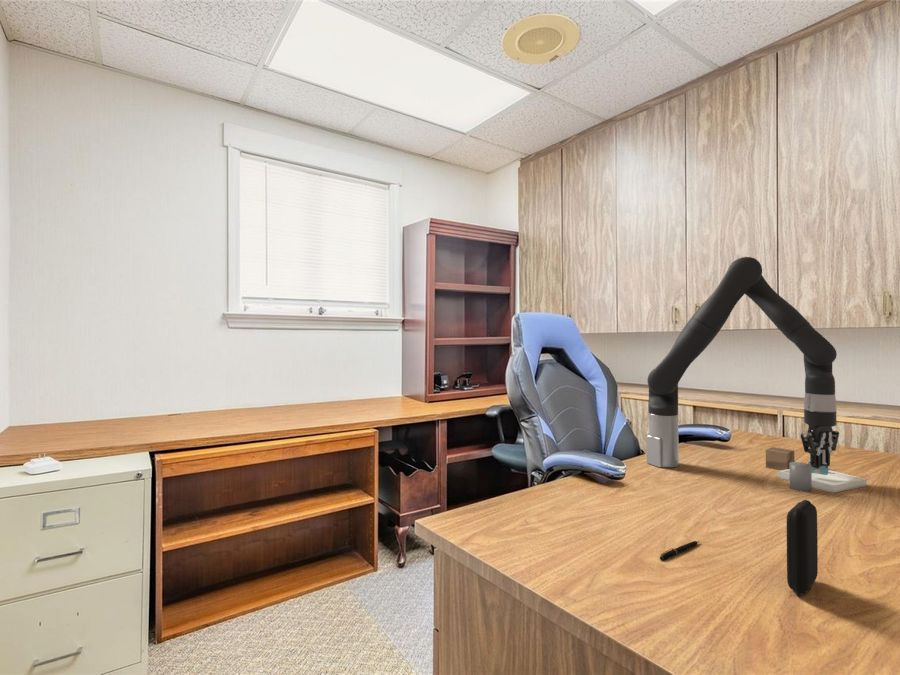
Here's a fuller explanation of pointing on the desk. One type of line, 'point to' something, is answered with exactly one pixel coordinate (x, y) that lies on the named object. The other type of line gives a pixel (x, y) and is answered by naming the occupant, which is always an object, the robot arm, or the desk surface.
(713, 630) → the desk surface
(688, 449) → the desk surface
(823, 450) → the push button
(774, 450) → the walnut block
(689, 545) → the fountain pen
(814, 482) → the grey tray
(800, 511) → the carrying case or bag
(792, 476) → the dark grey cylinder
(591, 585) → the desk surface
